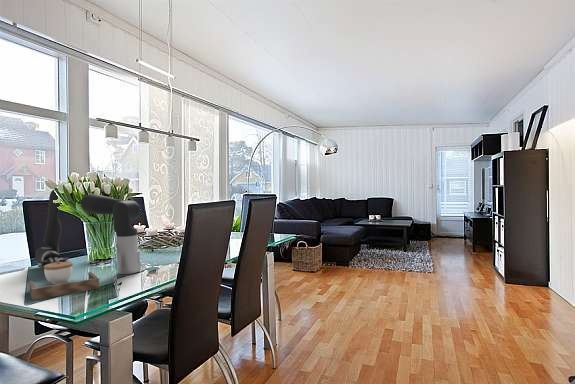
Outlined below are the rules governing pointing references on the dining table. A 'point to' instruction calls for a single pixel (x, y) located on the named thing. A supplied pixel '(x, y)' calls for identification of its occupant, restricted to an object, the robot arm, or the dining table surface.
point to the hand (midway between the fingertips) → (55, 265)
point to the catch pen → (64, 287)
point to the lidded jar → (58, 272)
